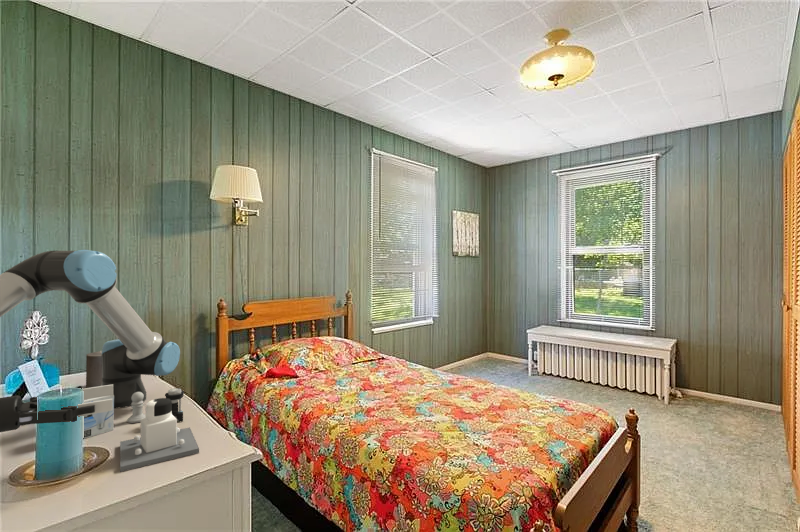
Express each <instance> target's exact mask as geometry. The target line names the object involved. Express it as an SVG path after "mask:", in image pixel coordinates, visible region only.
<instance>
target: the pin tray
mask: <svg viewBox="0 0 800 532" xmlns="http://www.w3.org/2000/svg"><path fill="white" fill-rule="evenodd" d="M119 443H120V444H119V448H120V449H119V450H120V451H119V453H120V454H119V456H120V458H119V462H120V463H119V464H120V466H119V469H120V470H119V472H120V473H122V472H125V471H129V470H133V469H138V468H142V467H147V466H150V465H154V464H159V463H163V462H167V461H171V460H176V459H178V458H179V459H180V458H184V457H188V456H193V455H196V454H199V453H200V447H199V444H198V442H197V441H196V438H195V436H194V434H193V432H192V429H191V427H185V428H180V427H178V426H177V445H175V446H171V447H167V448H164V449H160V450H156V451H153V452H149V453H146V452H145V450H144V449H143V447H142V445H141V435H138V434H137V435H134V437H133V438H131V439H128V440H127V439H126V440H123V441H121V440H120V442H119Z"/></svg>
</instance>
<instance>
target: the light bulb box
mask: <svg viewBox="0 0 800 532" xmlns="http://www.w3.org/2000/svg"><path fill="white" fill-rule="evenodd" d="M106 399H112V403H113V411H108V412H102V413H96V414H91V415H85V416H84V439H88V438H91V437H94V436H99V435H101V434H104V433H108V432H112V431H114V427H115V426H114V424H115V423H114V420H115V419H114V415H115V409H114V395H110V396H104V397H98V398H92V399H86V400H84V403H88V402H94V401H100V400H106ZM84 439H83V440H84Z"/></svg>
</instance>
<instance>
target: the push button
mask: <svg viewBox="0 0 800 532" xmlns="http://www.w3.org/2000/svg"><path fill="white" fill-rule="evenodd" d="M184 394H185V391H184V390H182V389H181V388H178V387H177V388H171V389H168V391H167V392H166V393H165V394H164V397H165V398H167V399H170V400H171V401H172V415H173V416H174V417H175V418H176V419H177V421H182V422H183V421H184V411H183V409H182V399H183V398H184Z"/></svg>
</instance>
